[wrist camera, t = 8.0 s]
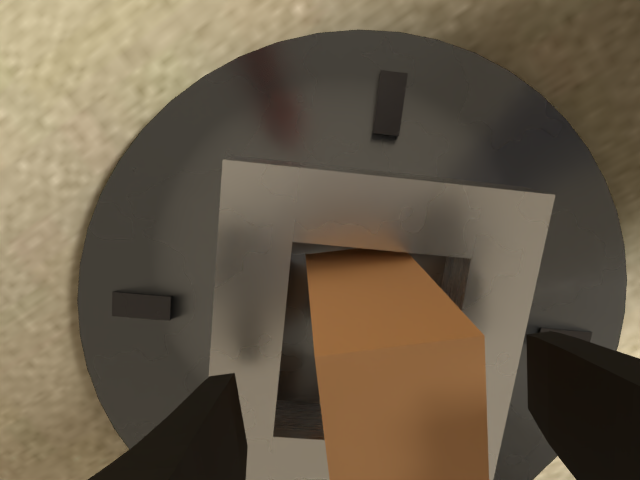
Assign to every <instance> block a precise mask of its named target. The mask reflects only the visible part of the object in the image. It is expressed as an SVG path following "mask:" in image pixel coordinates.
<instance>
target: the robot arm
mask: <svg viewBox="0 0 640 480" xmlns="http://www.w3.org/2000/svg"><path fill="white" fill-rule="evenodd" d="M526 339H527V391H528V410H529V411H530V413H531V415H532V417H533V418H534V420H535V422H536V424H537V425H538V427H539V429H540V431H541V432H542V434H543V435H544V437H545V439H546V440H547V442H548V444H549V445H550V446H551V448H552V449H553V450H554V452H555V453H556V454H557V455H558V457H559V458H560V459H561V461H562V462H563V463H564V464H565V466H566V467H567V468H568V469H569V471H570V472H571V473H572V475H573V476H574V477H575V478H576V480H640V359H639V358H636V357H633V356H630V355H627V354H624V353H621V352H618V351H615V350H612V349H609V348H606V347H603V346H600V345H597V344H594V343H591V342H588V341H585V340H582V339H579V338H576V337H572V336H569V335H566V334H562V333H558V332H553V331H548V332H541V333H533V334H526ZM247 450H248V445H247V439H246V434H245V428H244V422H243V417H242V411H241V405H240V400H239V394H238V388H237V383H236V377H235V373H230V374H222V375H215V376H209V377H208V378H207V379H206V380H205V381H204V382H203V383H201V384H200V385H199V386H198V387H197V388H196V389H195V390H194V391H193V392H192V393H191V394H190V395H189V396H188V397H187V398H186V399H185V400H184V401H183V402H182V403H181V404H180V405H179V406H178V407H177V408H176V409H175V410H174V411H173V412H172V413H171V414H170V415H169V416H168V417H167V418H165V419H164V420H163V421H162V422H161V423H160V424H159V425H158V426H156V427H155V428H154V429H153V430H152V431H151V432H149V433H148V434H147V435H146V436H145V437H144V438H143V439H141V440H140V441H139V442H138V443H137V444H136V445H134V446H133V447H132V448H131V449H130V450H128V451H127V452H126V453H124V454H123V455H122V456H120V457H119V458H118V459H116V460H115V461H114V462H112V463H111V464H110V465H108V466H107V467H105V468H104V469H103V470H101V471H100V472H98V473H97V474H95V475H94V476H92V477H91V478H89V479H88V480H246V467H247Z"/></svg>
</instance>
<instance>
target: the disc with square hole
mask: <svg viewBox="0 0 640 480" xmlns="http://www.w3.org/2000/svg"><path fill="white" fill-rule="evenodd" d="M355 248H364V249H374V250H385V251H396V252H406V253H409V254H410V255H411V257H412V258H413V259H414V260H415V261H416V262H417V263H418V264H419V265H420V266H421V267H422V268H423V270H424V271H425V272H426V273H427V274H428V275H429V276H430V277H431V278H432V279H433V280H434V281H435V283H436V284H437V285H438V286H439V287H440V288H441V289H442V290H443V291H444V292H445V293H446V294H447V296H448V297H449V298H450V299H451V300H452V301H453V302H454V303H455V304H456V305H457V306H458V307H459V309H460V310H461V311H462V312H463V313H464V314H465V315H466V316H467V317H468V318H469V319H470V320H471V322H472V323H473V324H474V325H475V326H476V327H477V328H478V329H479V330H480V331H481V332H482V333H483V335H484V336H485V366H486V397H487V429H488V460H489V480H533V479H534V478H535V477H536V476H537V475H538V474H539V473H540V472H541V471H542V470H543V469H544V468H545V467H546V466H547V465H549V464H550V463H551V462H552V461H553V460H554V459H555V458H556V457H557V454H556V453H555V452H554V450H553V449H552V448H551V446H550V445H549V444H548V442H547V440H546V439H545V437H544V435H543V434H542V432H541V431H540V429H539V427H538V425H537V424H536V422H535V420H534V418H533V417H532V415H531V413H530V411H529V410H528V391H527V339H526V334H533V333H541V332H548V331H553V332H558V333H562V334H566V335H569V336H572V337H576V338H579V339H582V340H585V341H588V342H591V343H594V344H597V345H600V346H603V347H606V348H609V349H612V350H615V351H616V350H617V347H618V344H619V339H620V334H621V329H622V324H623V319H624V314H625V300H626V285H627V275H626V261H625V248H624V242H623V237H622V232H621V228H620V223H619V219H618V214H617V211H616V208H615V205H614V202H613V200H612V197H611V194H610V192H609V189H608V186H607V184H606V181H605V179H604V177H603V175H602V173H601V171H600V169H599V168H598V166H597V164H596V162H595V160H594V158H593V157H592V155H591V153H590V151H589V149H588V148H587V146H586V145H585V144H584V142H583V141H582V140H581V138H580V137H579V136H578V134H577V133H576V132H575V130H574V129H573V128H572V126H571V125H570V124H569V122H568V121H567V120H566V119H565V118H564V117H563V116H562V115H561V114H560V113H559V112H558V111H557V110H556V109H555V108H554V107H553V106H552V105H551V104H550V103H549V102H548V101H547V100H546V99H545V98H544V97H543V96H542V95H541V94H540V93H538V92H537V91H536V90H534V89H533V88H532V87H530V86H529V85H528V84H526V83H525V82H523V81H522V80H521V79H519V78H518V77H517V76H515V75H514V74H513V73H511V72H510V71H508V70H506V69H504V68H502V67H500V66H499V65H497V64H495V63H493V62H491V61H489V60H487V59H485V58H484V57H482V56H480V55H478V54H476V53H473V52H471V51H468V50H465V49H462V48H459V47H457V46H454V45H451V44H448V43H445V42H443V41H440V40H436V39H431V38H426V37H421V36H416V35H411V34H406V33H401V32H389V31H372V30H349V31H337V32H325V33H316V34H312V35H307V36H303V37H299V38H294V39H290V40H285V41H281V42H277V43H274V44H272V45H269V46H266V47H264V48H261V49H259V50H256V51H253V52H251V53H248V54H245V55H243V56H240V57H238V58H236V59H234V60H233V61H231V62H229V63H227V64H225V65H223V66H222V67H220V68H218V69H216V70H214V71H213V72H211V73H209V74H207V75H205V76H204V77H202V78H201V79H199V80H198V81H197V82H195V83H194V84H193V85H191V86H190V87H189V88H187V89H186V90H185V91H183V92H182V93H181V94H179V95H178V96H177V97H175V98H174V99H173V100H171V101H170V102H169V103H168V104H167V105H166V106H165V107H164V108H163V109H162V110H161V111H160V112H159V113H158V114H157V115H156V116H155V117H154V118H153V119H152V120H151V121H150V122H149V123H148V124H147V125H146V126H145V127H144V128H143V129H142V131H141V132H140V133H139V135H138V136H137V137H136V139H135V140H134V141H133V143H132V144H131V145H130V147H129V148H128V149H127V151H126V152H125V153H124V155H123V156H122V157H121V159H120V160H119V162H118V163H117V165H116V167H115V169H114V171H113V173H112V174H111V176H110V178H109V180H108V182H107V184H106V185H105V187H104V189H103V191H102V193H101V195H100V197H99V200H98V203H97V205H96V208H95V211H94V214H93V216H92V219H91V222H90V224H89V227H88V230H87V235H86V239H85V244H84V248H83V253H82V258H81V262H80V271H79V286H78V314H79V328H80V337H81V342H82V346H83V351H84V355H85V360H86V365H87V369H88V372H89V374H90V377H91V380H92V382H93V385H94V388H95V390H96V393H97V396H98V399H99V401H100V403H101V405H102V406H103V408H104V410H105V412H106V414H107V416H108V418H109V419H110V421H111V423H112V425H113V427H114V429H115V430H116V432H117V433H118V434H119V436H120V437H121V439H122V440H123V441H124V443H125V444H126V445H127V447H128V448H129V450H130V449H131V448H132V447H133V446H134V445H136V444H137V443H138V442H139V441H140V440H141V439H143V438H144V437H145V436H146V435H147V434H148V433H149V432H151V431H152V430H153V429H154V428H155V427H156V426H158V425H159V424H160V423H161V422H162V421H163V420H164V419H165V418H167V417H168V416H169V415H170V414H171V413H172V412H173V411H174V410H175V409H176V408H177V407H178V406H179V405H180V404H181V403H182V402H183V401H184V400H185V399H186V398H187V397H188V396H189V395H190V394H191V393H192V392H193V391H194V390H195V389H196V388H197V387H198V386H199V385H200V384H201V383H203V382H204V381H205V380H206V379H207V378H208V377H209V376H215V375H222V374H230V373H235V377H236V383H237V388H238V394H239V400H240V405H241V411H242V417H243V422H244V428H245V434H246V439H247V445H248V450H247V467H246V480H330V479H329V471H328V463H327V455H326V447H325V438H324V430H323V422H322V414H321V405H320V397H319V389H318V381H317V373H316V364H315V356H314V345H313V334H312V322H311V311H310V300H309V289H308V278H307V267H306V256H305V254H313V253H322V252H330V251H338V250H347V249H355Z"/></svg>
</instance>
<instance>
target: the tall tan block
mask: <svg viewBox="0 0 640 480" xmlns="http://www.w3.org/2000/svg"><path fill="white" fill-rule="evenodd" d="M305 256H306V267H307V278H308V289H309V300H310V311H311V322H312V334H313V345H314V356H315V364H316V373H317V381H318V389H319V397H320V405H321V414H322V422H323V430H324V438H325V447H326V455H327V463H328V471H329V479H330V480H489V460H488V429H487V397H486V366H485V336H484V335H483V333H482V332H481V331H480V330H479V329H478V328H477V327H476V326H475V325H474V324H473V323H472V322H471V320H470V319H469V318H468V317H467V316H466V315H465V314H464V313H463V312H462V311H461V310H460V309H459V307H458V306H457V305H456V304H455V303H454V302H453V301H452V300H451V299H450V298H449V297H448V296H447V294H446V293H445V292H444V291H443V290H442V289H441V288H440V287H439V286H438V285H437V284H436V283H435V281H434V280H433V279H432V278H431V277H430V276H429V275H428V274H427V273H426V272H425V271H424V270H423V268H422V267H421V266H420V265H419V264H418V263H417V262H416V261H415V260H414V259H413V258H412V257H411V255H410V254H409V253H406V252H396V251H385V250H374V249H364V248H355V249H347V250H338V251H330V252H322V253H313V254H305Z"/></svg>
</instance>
